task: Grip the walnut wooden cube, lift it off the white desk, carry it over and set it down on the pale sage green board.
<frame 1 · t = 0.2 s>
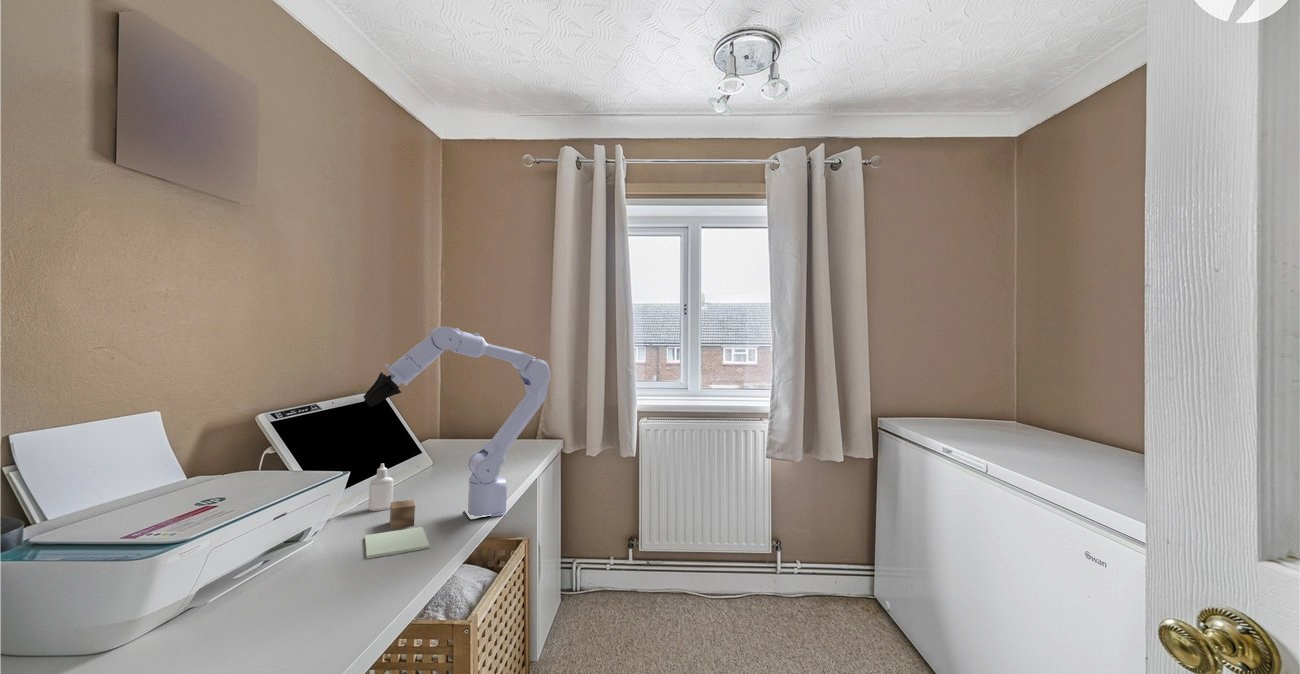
hand: (366, 402, 117), 30 cm above the table, tool tilted 45°, fingers open, 7 cm apart
sage board: (396, 543, 110), on the table
eye dropper bottle: (380, 509, 132), on the table
walnut cube: (401, 524, 122), on the table
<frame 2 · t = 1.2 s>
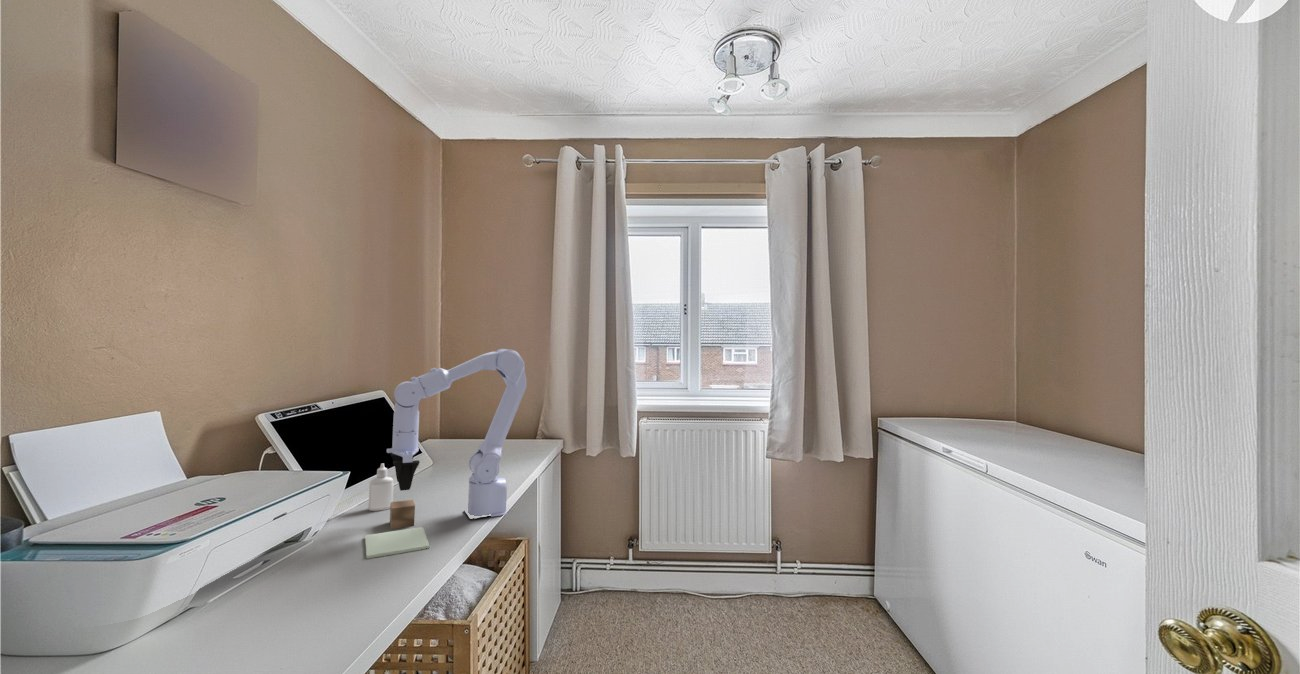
hand: (403, 485, 122), 9 cm above the table, tool pointing down, fingers open, 7 cm apart
nothing on the table moved.
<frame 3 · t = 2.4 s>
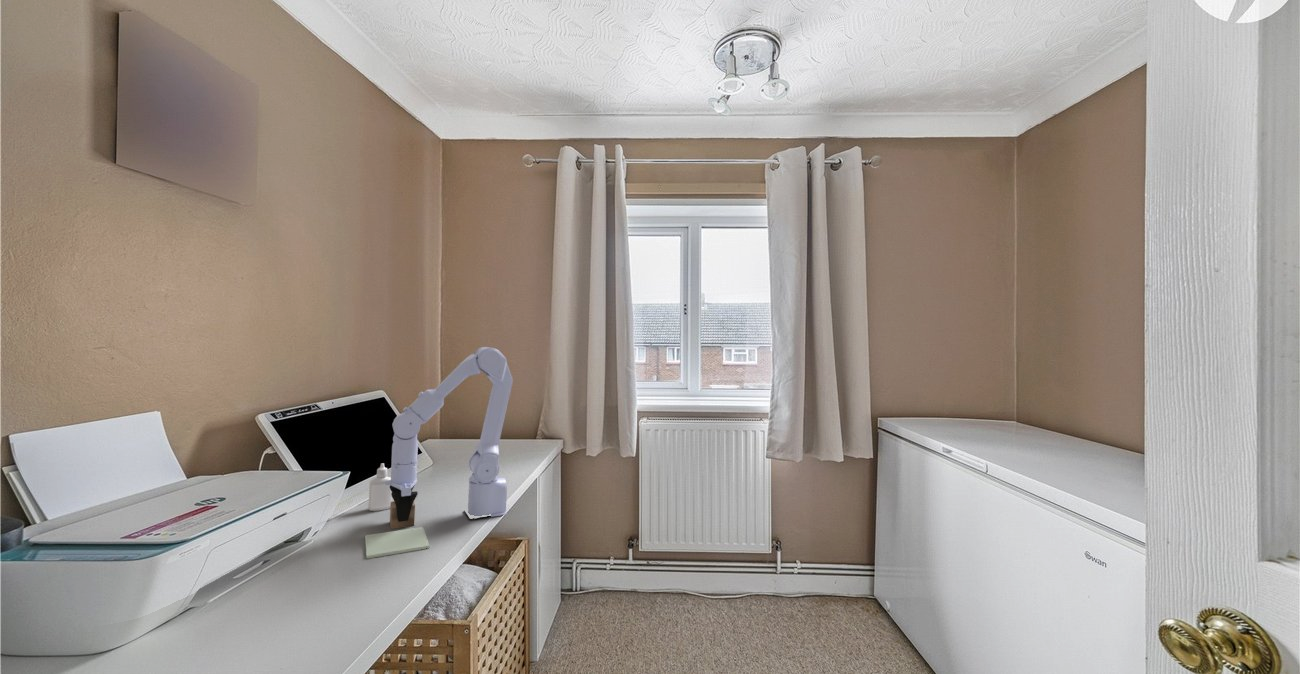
hand: (402, 517, 122), 2 cm above the table, tool pointing down, fingers closed on walnut cube, 5 cm apart
walnut cube: (401, 523, 122), on the table, touching gripper
everything else where it was.
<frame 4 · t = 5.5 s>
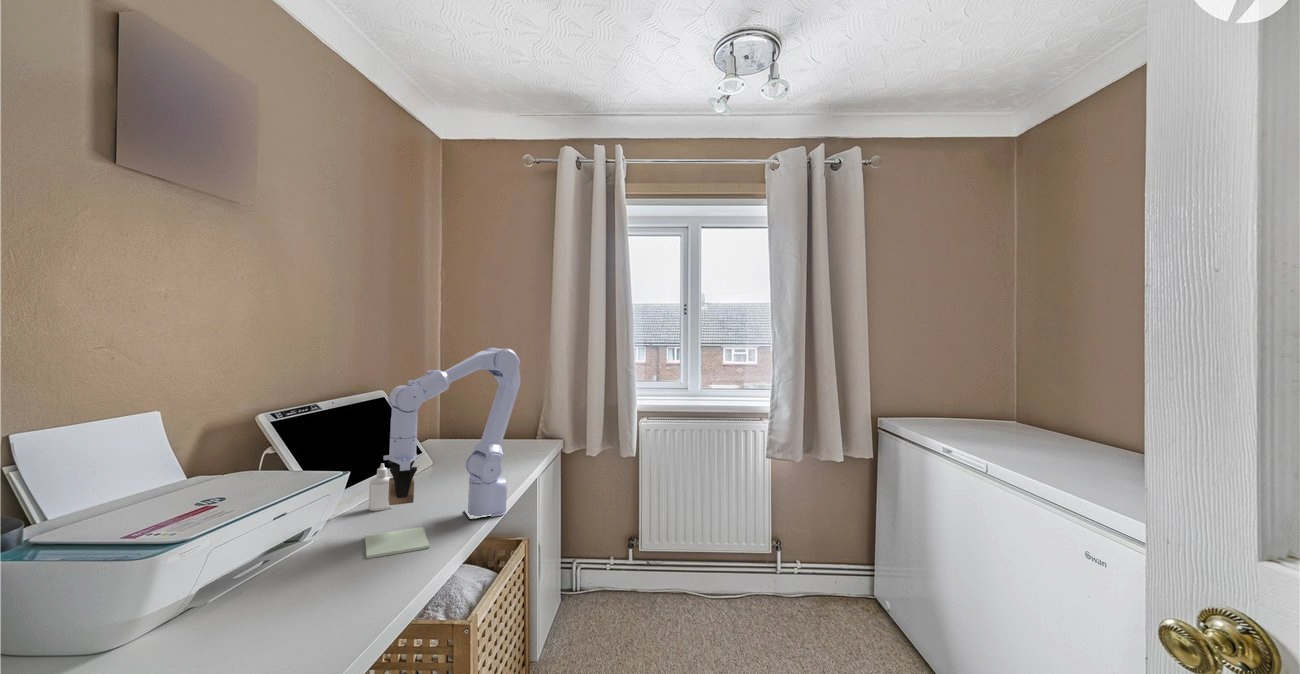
hand: (401, 493, 117), 9 cm above the table, tool pointing down, fingers closed on walnut cube, 5 cm apart
walnut cube: (400, 500, 117), point 7 cm above the table, touching gripper
everything else where it was.
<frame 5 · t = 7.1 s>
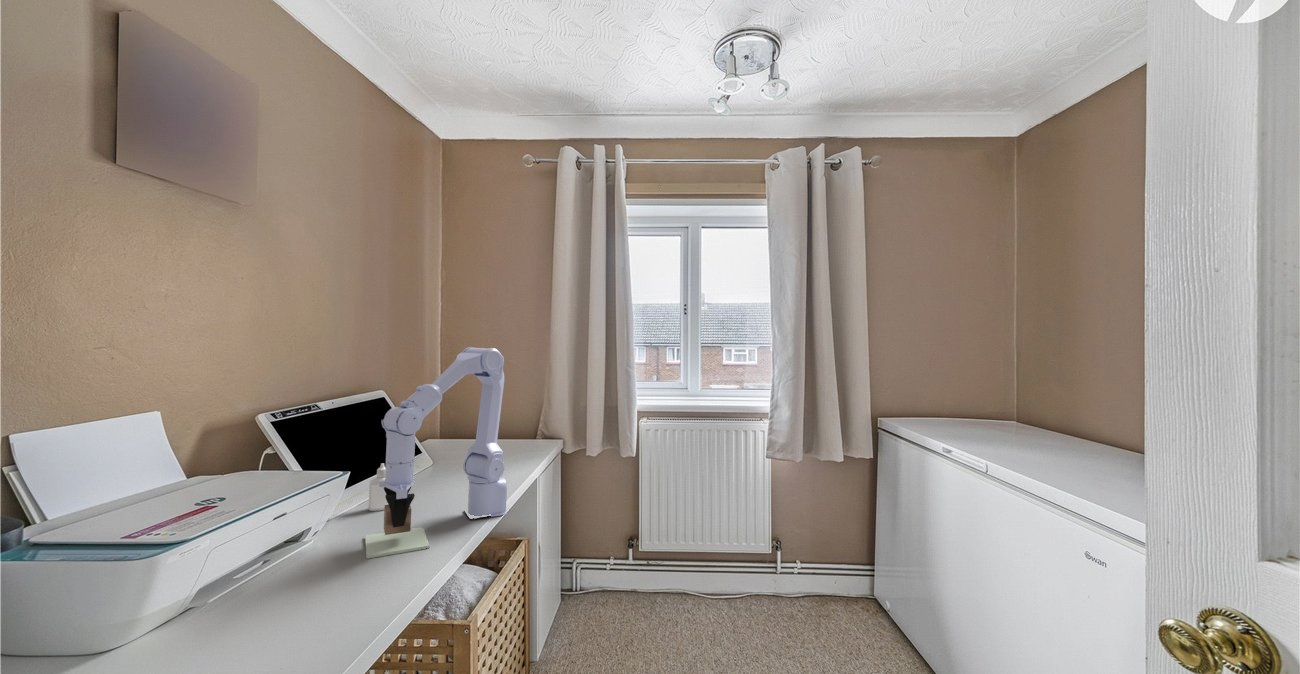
hand: (397, 521, 110), 5 cm above the table, tool pointing down, fingers closed on walnut cube, 5 cm apart
walnut cube: (396, 529, 110), point 3 cm above the table, touching gripper
everything else where it was.
when the fingers open (3 cm above the table, at t = 8.4 s): walnut cube drops 1 cm, resting on sage board.
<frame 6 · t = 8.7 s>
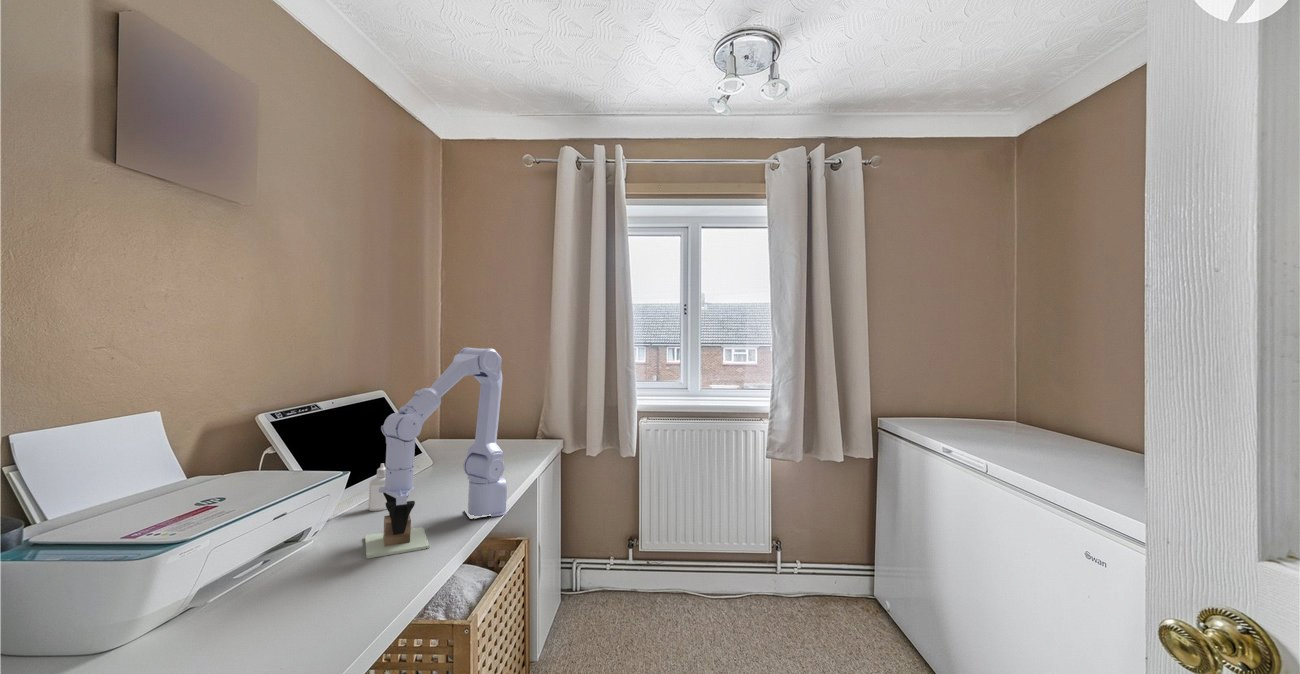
hand: (397, 527, 110), 3 cm above the table, tool pointing down, fingers open, 7 cm apart
walnut cube: (396, 540, 110), point 1 cm above the table, touching sage board
everything else where it was.
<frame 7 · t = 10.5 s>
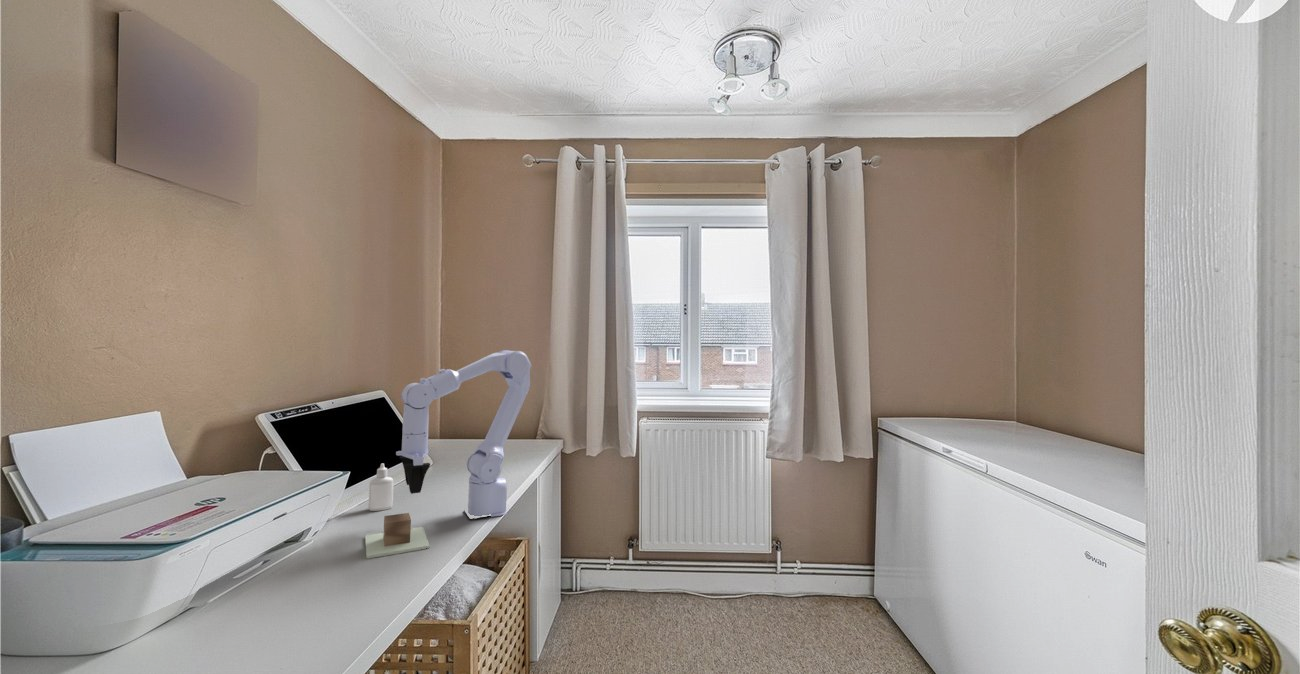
hand: (413, 488, 120), 9 cm above the table, tool pointing down, fingers open, 7 cm apart
nothing on the table moved.
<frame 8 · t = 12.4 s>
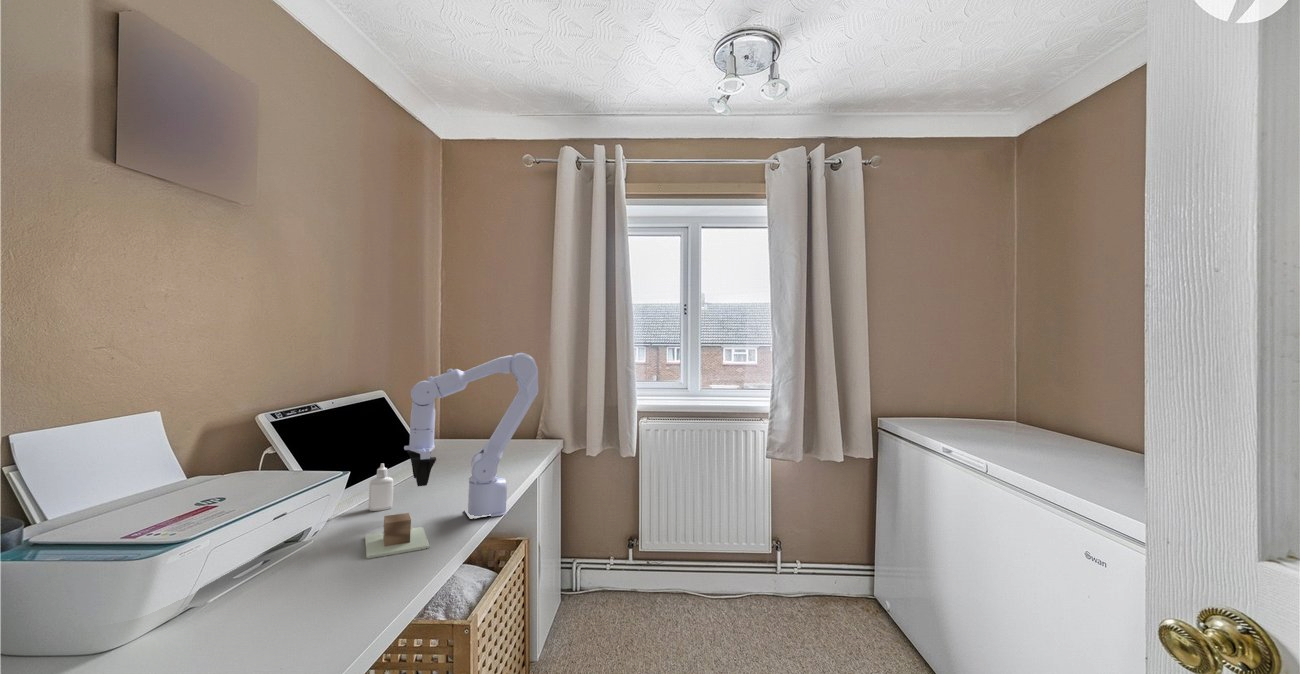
hand: (420, 481, 126), 9 cm above the table, tool pointing down, fingers open, 7 cm apart
nothing on the table moved.
at the end: walnut cube inside the target area on the sage board (0.0 cm from its centre), point 0.6 cm above the sage board's base; walnut cube tilted 0°; the gripper is holding nothing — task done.
